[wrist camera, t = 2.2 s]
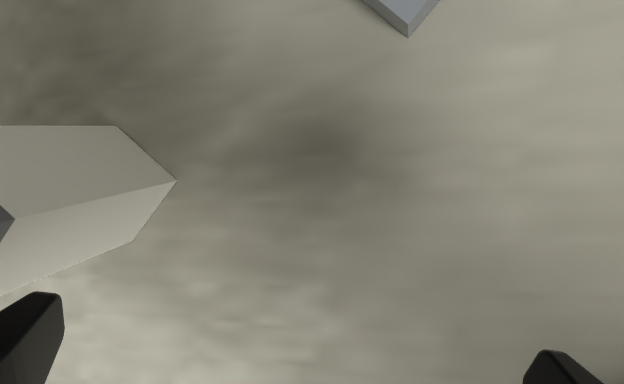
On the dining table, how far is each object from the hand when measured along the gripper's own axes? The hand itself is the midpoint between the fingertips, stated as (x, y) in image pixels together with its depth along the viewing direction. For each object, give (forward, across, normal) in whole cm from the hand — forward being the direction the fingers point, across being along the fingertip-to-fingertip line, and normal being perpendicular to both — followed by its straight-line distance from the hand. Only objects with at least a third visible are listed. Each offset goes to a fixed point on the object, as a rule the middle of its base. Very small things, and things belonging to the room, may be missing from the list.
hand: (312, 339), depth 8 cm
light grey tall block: (+13, +8, +5) cm, 16 cm away
